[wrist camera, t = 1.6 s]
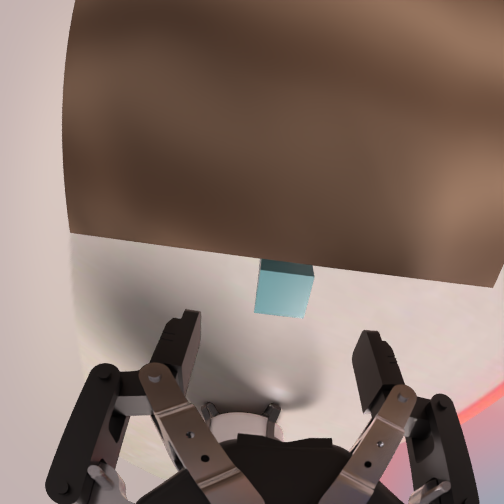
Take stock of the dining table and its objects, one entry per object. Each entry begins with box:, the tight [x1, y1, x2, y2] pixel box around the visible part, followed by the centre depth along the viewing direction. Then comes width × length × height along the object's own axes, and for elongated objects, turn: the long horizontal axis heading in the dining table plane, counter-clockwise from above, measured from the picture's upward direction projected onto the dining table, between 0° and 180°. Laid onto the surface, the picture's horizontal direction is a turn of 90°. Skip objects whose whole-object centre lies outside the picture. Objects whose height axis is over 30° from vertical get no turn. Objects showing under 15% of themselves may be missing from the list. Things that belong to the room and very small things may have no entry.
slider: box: [254, 259, 314, 318], centre depth 18 cm, size 20×12×10 cm, turn 174°
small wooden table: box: [62, 0, 504, 288], centre depth 14 cm, size 16×20×14 cm
